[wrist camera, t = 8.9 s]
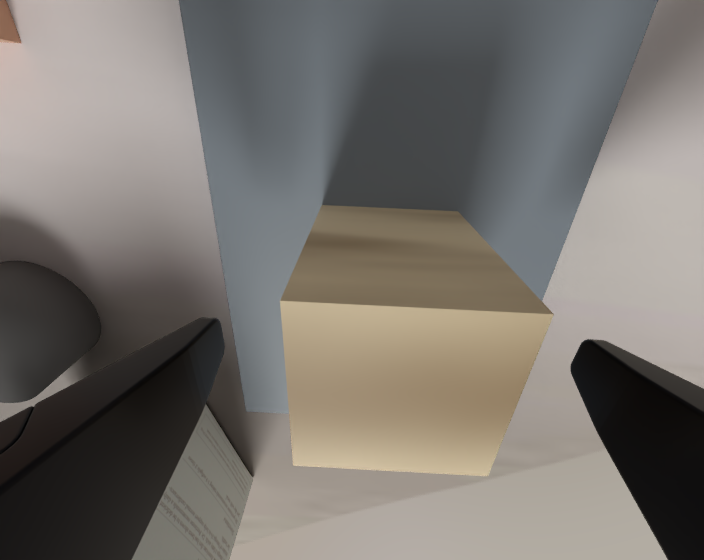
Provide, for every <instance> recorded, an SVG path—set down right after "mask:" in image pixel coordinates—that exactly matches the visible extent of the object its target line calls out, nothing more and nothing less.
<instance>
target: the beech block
mask: <svg viewBox="0 0 704 560" xmlns="http://www.w3.org/2000/svg"><path fill="white" fill-rule="evenodd" d="M280 308H281V320H282V332H283V345H284V357H285V370H286V382H287V394H288V407H289V419H290V431H291V444H292V456H293V466H310V467H328V468H346V469H365V470H383V471H401V472H419V473H438V474H456V475H474V476H488V475H489V472H490V470H491V467H492V465H493V462H494V460H495V457H496V455H497V452H498V450H499V448H500V445H501V443H502V440H503V438H504V435H505V433H506V430H507V428H508V425H509V423H510V421H511V418H512V416H513V413H514V411H515V408H516V406H517V403H518V401H519V398H520V396H521V394H522V391H523V389H524V386H525V384H526V381H527V379H528V376H529V374H530V371H531V369H532V367H533V364H534V362H535V359H536V357H537V354H538V352H539V349H540V347H541V344H542V342H543V340H544V337H545V335H546V332H547V330H548V327H549V325H550V322H551V320H552V317H553V315H554V314H553V313H552V312H551V311H550V310H549V309H548V308H547V307H546V306H545V304H544V303H543V302H542V301H541V300H540V299H539V298H538V297H537V296H536V295H535V294H534V293H533V292H532V290H531V289H530V288H529V287H528V286H527V285H526V284H525V283H524V282H523V281H522V280H521V279H520V278H519V277H518V275H517V274H516V273H515V272H514V271H513V270H512V269H511V268H510V267H509V266H508V265H507V264H506V263H505V261H504V260H503V259H502V258H501V257H500V256H499V255H498V254H497V253H496V252H495V251H494V250H493V249H492V247H491V246H490V245H489V244H488V243H487V242H486V241H485V240H484V239H483V238H482V237H481V236H480V235H479V233H478V232H477V231H476V230H475V229H474V228H473V227H472V226H471V225H470V224H469V223H468V222H467V221H466V219H465V218H464V217H463V216H462V215H461V214H460V213H459V212H458V211H440V210H419V209H397V208H376V207H354V206H333V205H322V206H321V208H320V210H319V213H318V215H317V217H316V219H315V222H314V224H313V226H312V229H311V231H310V233H309V235H308V238H307V240H306V242H305V245H304V247H303V249H302V252H301V254H300V256H299V258H298V261H297V263H296V265H295V268H294V270H293V272H292V274H291V277H290V279H289V281H288V284H287V286H286V288H285V290H284V293H283V295H282V297H281V300H280Z"/></svg>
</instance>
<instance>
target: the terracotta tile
mask: <svg viewBox="0 0 704 560" xmlns="http://www.w3.org/2000/svg"><path fill="white" fill-rule="evenodd" d="M0 42H6V43H21V40H20V37H19V35H18V32H17V29H16V26H15V24H14V21H13V18H12V15H11V13H10V10H9V7H8V4H7V2H6V0H0Z"/></svg>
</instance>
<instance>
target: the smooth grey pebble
mask: <svg viewBox="0 0 704 560" xmlns="http://www.w3.org/2000/svg"><path fill="white" fill-rule="evenodd" d="M100 333H101V324H100V319H99V316H98V314H97V311H96V309H95V308H94V306H93V304H92V303H91V301H90V300H89V299H88V298H87V296H86V295H85V294H84V293H83V292H82V291H81V290H80V289H79V288H78V287H77V286H75V285H74V284H73V283H72V282H70V281H69V280H68V279H66V278H64V277H63V276H61V275H60V274H58V273H56V272H54V271H52V270H50V269H48V268H45V267H43V266H40V265H37V264H33V263H28V262H22V261H7V262H1V263H0V402H2V403H16V402H23V401H27V400H30V399H32V398H34V397H36V396H37V395H38V394H39V393H41V392H42V391H43V390H44V389H45V388H46V387H47V386H49V385H50V384H51V383H52V382H53V381H54V380H55V379H57V378H58V377H59V376H60V375H61V374H62V373H63V372H65V371H66V370H67V369H68V368H69V367H70V366H71V365H73V364H74V363H75V362H76V361H77V360H78V359H79V358H81V357H82V356H83V355H84V354H85V353H86V352H87V351H88V350H90V349H91V348H92V347H93V346H94V345H95V344H96V343H97V341H98V339H99V337H100Z"/></svg>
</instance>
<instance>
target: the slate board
mask: <svg viewBox="0 0 704 560" xmlns="http://www.w3.org/2000/svg"><path fill="white" fill-rule="evenodd" d="M657 2H658V0H179V4H180V10H181V17H182V23H183V29H184V35H185V41H186V47H187V53H188V59H189V65H190V72H191V78H192V84H193V90H194V96H195V102H196V108H197V114H198V121H199V127H200V133H201V139H202V145H203V151H204V157H205V163H206V169H207V176H208V182H209V188H210V194H211V200H212V206H213V212H214V218H215V224H216V231H217V237H218V243H219V249H220V255H221V261H222V267H223V273H224V280H225V286H226V292H227V298H228V304H229V310H230V316H231V322H232V328H233V335H234V341H235V347H236V353H237V359H238V365H239V371H240V377H241V384H242V390H243V396H244V402H245V408H246V411H249V412H267V413H284V414H289V407H288V394H287V382H286V370H285V357H284V345H283V332H282V320H281V308H280V300H281V297H282V295H283V293H284V290H285V288H286V286H287V284H288V281H289V279H290V277H291V274H292V272H293V270H294V268H295V265H296V263H297V261H298V258H299V256H300V254H301V252H302V249H303V247H304V245H305V242H306V240H307V238H308V235H309V233H310V231H311V229H312V226H313V224H314V222H315V219H316V217H317V215H318V213H319V210H320V208H321V206H322V205H333V206H354V207H376V208H397V209H419V210H440V211H458V212H459V213H460V214H461V215H462V216H463V217H464V218H465V219H466V221H467V222H468V223H469V224H470V225H471V226H472V227H473V228H474V229H475V230H476V231H477V232H478V233H479V235H480V236H481V237H482V238H483V239H484V240H485V241H486V242H487V243H488V244H489V245H490V246H491V247H492V249H493V250H494V251H495V252H496V253H497V254H498V255H499V256H500V257H501V258H502V259H503V260H504V261H505V263H506V264H507V265H508V266H509V267H510V268H511V269H512V270H513V271H514V272H515V273H516V274H517V275H518V277H519V278H520V279H521V280H522V281H523V282H524V283H525V284H526V285H527V286H528V287H529V288H530V289H531V290H532V292H533V293H534V294H535V295H536V296H537V297H538V298H539V299H540V300H541V301H542V300H543V297H544V294H545V292H546V289H547V287H548V284H549V281H550V279H551V276H552V274H553V271H554V268H555V266H556V263H557V261H558V258H559V256H560V253H561V250H562V248H563V245H564V243H565V240H566V237H567V235H568V232H569V230H570V227H571V224H572V222H573V219H574V217H575V214H576V211H577V209H578V206H579V204H580V201H581V199H582V196H583V193H584V191H585V188H586V186H587V183H588V180H589V178H590V175H591V173H592V170H593V167H594V165H595V162H596V160H597V157H598V154H599V152H600V149H601V147H602V144H603V141H604V139H605V136H606V134H607V131H608V129H609V126H610V123H611V121H612V118H613V116H614V113H615V110H616V108H617V105H618V103H619V100H620V97H621V95H622V92H623V90H624V87H625V84H626V82H627V79H628V77H629V74H630V72H631V69H632V66H633V64H634V61H635V59H636V56H637V53H638V51H639V48H640V46H641V43H642V40H643V38H644V35H645V33H646V30H647V27H648V25H649V22H650V20H651V17H652V14H653V12H654V9H655V7H656V4H657Z"/></svg>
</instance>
